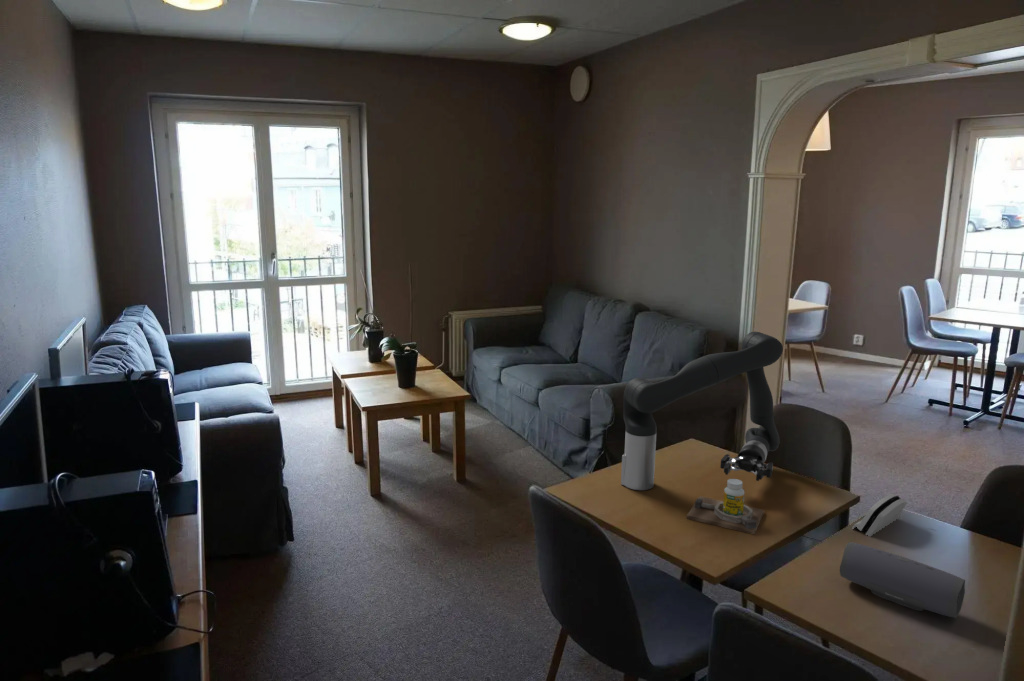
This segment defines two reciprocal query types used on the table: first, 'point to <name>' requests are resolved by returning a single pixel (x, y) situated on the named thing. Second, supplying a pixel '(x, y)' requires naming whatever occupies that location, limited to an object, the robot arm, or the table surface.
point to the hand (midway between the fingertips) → (741, 474)
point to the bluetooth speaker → (903, 580)
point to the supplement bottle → (733, 498)
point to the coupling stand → (725, 515)
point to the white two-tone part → (881, 514)
